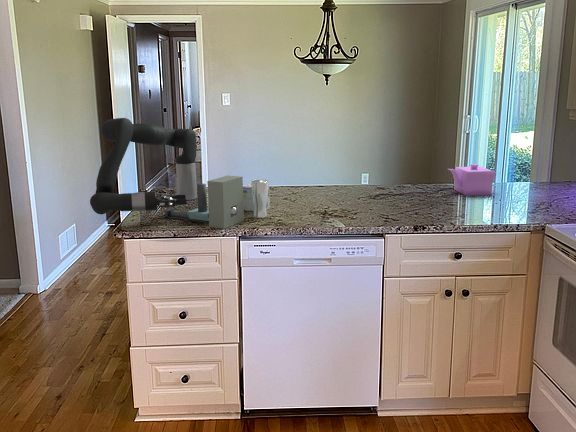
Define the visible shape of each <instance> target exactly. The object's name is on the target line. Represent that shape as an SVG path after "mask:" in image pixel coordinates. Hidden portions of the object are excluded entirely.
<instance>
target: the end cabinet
mask: <svg viewBox="0 0 576 432" xmlns="http://www.w3.org/2000/svg"><path fill="white" fill-rule="evenodd" d="M243 183H244V182H243V176H240V175H239V176H238V175H228V174H227V175H224V176H221V177H217V178H214V179H209V180H207V184H206V185H207V208H208V209H209V223H208V224H209V225H208V226H209V228H217V229H221V230H222V229H224V230H225V229H227V228H229V227H232V226H234V225H237V224H239V223H242V222H244V221H245V219H244V218H245V216H244V215H245V214H244V211H245V210H243V186H244V185H243ZM231 207H233V208H237V214H231Z"/></svg>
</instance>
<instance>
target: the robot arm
mask: <svg viewBox="0 0 576 432" xmlns="http://www.w3.org/2000/svg"><path fill="white" fill-rule="evenodd" d="M100 130H101V135H102V136H103V137H104V139H106V140H107V141H109V142H113V146H112V148H111V150H109V151H110V152H109V153H108V154H107V155H106V156H105V159H104V160H103V161H102V163H101V165H100V168H99V170H98V174H97V177H96V181H95V182H96V183H95V185H96V189H95V192H94V194H93V195H91V197H90V200H89V204H90V207H91V209H92V211H93V212H95V213H96V214H98V215H105V214H107V213H108V212H109V211H110V210H114V211H115V210H117V211H119V212H149V211H152V212H153V211H157V210H158V206H159V208H175V207H177V206H183V205H187V201H191V200H196V199H198V196H197V184H198V183H197V170H196V169H197V168H196V167H197V166H196V160H197V159H196V158H197V135H196V132H195V130H193V129H192V128H165V127H163V126H162V125H160V124H155V123H145V122H144V123H143V122H141V123H132V121H131V120H130V119H129V118H127V117H116V118H110V119H107V120H106V121H104V122H103V124H102V125H101V129H100ZM131 142H132V143H136V144H141V145H147V146H163V145H165V146H170V147H173V148H176V149H182V154H180V155H177V156H176V157H175V172H176V178H175V179H174V184H175V186H174V187H175V189H174V190H175V193H173V192H172V193H162V194H159V195H158V196H157V192H156V191H136V192H128V193H127V192H126V193H117V192H116V193H115V192H114V189H115V187H116V182H117V178H118V173H119V170H120V167H121V164H122V162H123V159H124V157H125V154H126V152H127V150H128V147H129V145H130V143H131Z"/></svg>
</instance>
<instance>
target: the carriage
mask: <svg viewBox="0 0 576 432" xmlns="http://www.w3.org/2000/svg"><path fill="white" fill-rule="evenodd" d="M196 184H197V208H195V209H194V208H193V209H192V210H188V211H187V212H188V215H189V219H197V220H204V221H209V208H208V193H207V184H206V183H196Z"/></svg>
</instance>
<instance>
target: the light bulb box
mask: <svg viewBox="0 0 576 432" xmlns="http://www.w3.org/2000/svg"><path fill="white" fill-rule="evenodd" d="M251 185H252V183H251V184H250V183H248V184H247V183H246V184H245V185H243V210H244V211H250V212H251V211H252V212H254V205H253V200H252V194H251ZM270 198H271V197H270V185H269V184H268V200H267V211H268V210H270V209H271V208H270V207H271V204H270V203H271V202H270Z"/></svg>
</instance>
